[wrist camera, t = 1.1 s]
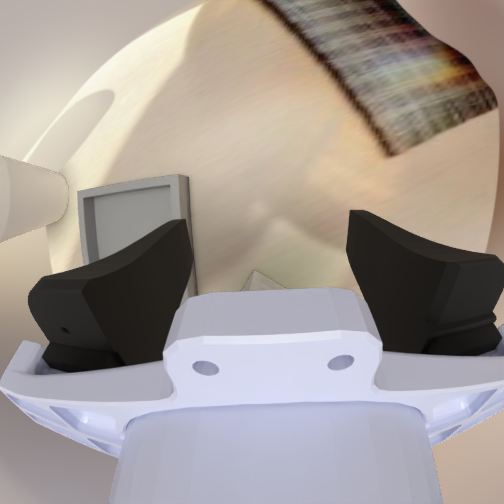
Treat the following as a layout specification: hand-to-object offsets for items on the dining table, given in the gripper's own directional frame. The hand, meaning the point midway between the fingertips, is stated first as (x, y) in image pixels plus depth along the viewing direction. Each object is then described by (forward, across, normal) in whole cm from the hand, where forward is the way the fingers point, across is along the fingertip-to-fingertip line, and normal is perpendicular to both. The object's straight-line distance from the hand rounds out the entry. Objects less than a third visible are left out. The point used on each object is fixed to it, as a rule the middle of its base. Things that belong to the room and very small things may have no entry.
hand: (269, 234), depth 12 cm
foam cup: (+16, +26, +1) cm, 31 cm away
